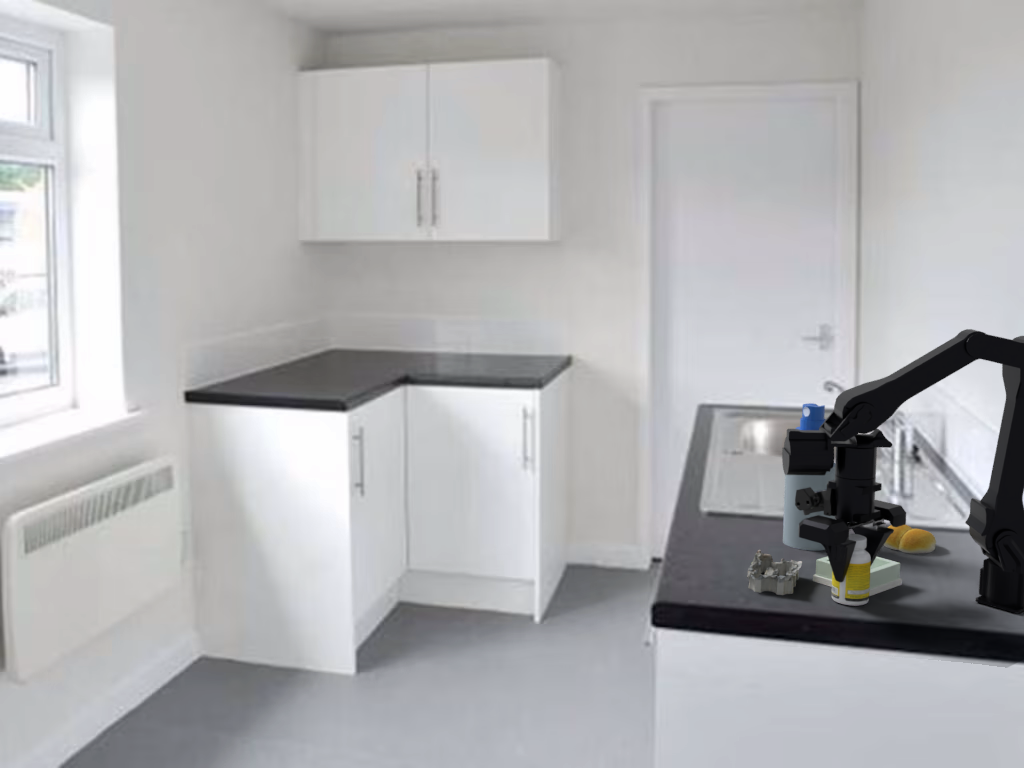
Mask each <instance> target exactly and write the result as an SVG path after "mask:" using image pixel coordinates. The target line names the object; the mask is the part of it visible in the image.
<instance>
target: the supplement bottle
mask: <svg viewBox="0 0 1024 768" xmlns="http://www.w3.org/2000/svg"><path fill="white" fill-rule="evenodd" d="M849 540H853V541H856V545H855V548H854V551H853V554H852V557H851V561H850V564H849V567H848V570H847V573H846V576H845V578H844V581H843V582H838V581H836V580H835V577H834V574H833V571H832V587H831V599H832V600H833V601H834V602H835V603H839V604H840V605H841V604H842V605H846V606H853V607H854V606H855V607H856V606H859V607H860V606H863V605H866V604H867V603H869V601H870V596H869V592H870V568H871V557H870V554H869V553H868V552H867V551H865V548H866V546H867V538H866V537H865V536H862V535H858V534H855V533H849Z"/></svg>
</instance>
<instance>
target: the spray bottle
mask: <svg viewBox="0 0 1024 768" xmlns="http://www.w3.org/2000/svg"><path fill="white" fill-rule="evenodd" d="M825 409H826V405H818V404H816V403H814V402H813V403H811V402H810V403H809V402H808V403H803V404H802V413H801V415H802V417H800V419H799V426H796V427H795V428H794V429H799V430H819V428H820V426H821V425H822V424H823V423H824V421H825V420H826V419H827V418H825V416H826V415H825V413H826V411H825ZM831 480H835V462H834V465H833V468H832V469H831V470H830V472H826V474H825V475H785V474H784V495H783V496H784V497H783V525H782V529H783V530H782V543H783V544H784V545H785V546H787V547H790V548H794V549H797V550H803V551H825V548H824V547H823V545H822V544H821V543H817V542H814V541H810V540H807V539H803V538H800V537H799V536H798V532H799V523H800V522H801V521H802V520H804V519H806V518H810V517H813V516H817V515H820V516H824V517H828V518H832V519H835V516H827V515H824V511H820V512H814V513H810V514H809V515H804V512H803V510H801V511H800V510H798V509H797V507H796V506H795V496H796V490H799V489H803V488H808V487H811V488H812V490H813V491H814V492H815V491H820V490H825V489H827V483H828V482H829V481H831Z"/></svg>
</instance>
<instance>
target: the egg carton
mask: <svg viewBox="0 0 1024 768" xmlns="http://www.w3.org/2000/svg"><path fill="white" fill-rule="evenodd" d="M802 564H803V561H801V560H799V561H797V560H794V559H791V560H790V561H789V560H785V558H781V559H780V562H779V561H778V562H777V561H775V562H774V559H773V556H772V555H771V554H768V553H763V552H762V549H758V550H757V551H756V553H755V554H754V557H753V560H752V562H751V563H750V565H749V567H748V568H747V574H746V575H747V576H746V577H747V579H748V582H749V583H748V588H747V589H749V590H752V591H753V592H754V593H760V594H761V593H763V592H772V593H775V594H776V595H778V596H785V595H792V594H794V588H796V584H797V581H799V577H800V576H799V575H800V573H799V572H800V571H799V570H800V569H801V568H802ZM763 573H764V574H763Z"/></svg>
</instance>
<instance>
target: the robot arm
mask: <svg viewBox="0 0 1024 768" xmlns="http://www.w3.org/2000/svg"><path fill="white" fill-rule="evenodd" d="M977 360H983V361H986V362H987V361H988V362H991V363H997V364H1000V365H1001V366H1002V367H1001V369H1002V370H1001V373H1002V374H1001V375H1002V376H1001V377H1002V381H1003V386H1004V390H1005V401H1004V406H1003V412H1002V416H1001V422H1000V427H999V432H998V438H997V441H996V442H997V444H996V447H995V453H994V458H993V464H992V468H991V473H990V480H989V484H988V488H987V491H986V492H985V494H984V495H983V496H982V498H981V499H976V498H970V502H969V505H970V507H969V508H970V509H969V514H968V517H967V519H966V520H965V524H966V525H967V526H968V527H969V529H968V530H969V531H968V532H969V535H970V538H971V539H972V540H973V541H974V543H976V544H977V545H978V546H979V547H980V549H981V553H982V555H984V556H986V557H987V558H985V559H983V562H982V563H983V565H982V567H980V569H979V581H978V583H979V584H978V594H979V596H977V597H975V599H974V600H975V602H977V603H980V604H983V605H986V606H990V607H994V608H997V609H1000V610H1004V611H1007V612H1011V613H1014V614H1021V613H1022V612H1024V501H1023V499H1024V498H1023V496H1024V335H1019V336H1017V337H1014V338H1012V339H1009V338H1005V337H1002V336H996V335H992V334H988V333H986V332H983V331H980V330H976V329H972V328H970V329H968V328H967V329H964V330H961V331H959V333H957V335H956V336H954V337H952V338H951V339H949V340H948V341H945V342H944V343H942V344H940V345H939V346H937V347H935V348H933V349H932V350H930V351H928V352H927V353H925V354H924V355H922V356H920V357H919V358H917V359H915V360H913V361H911V362H910V363H908V364H906V365H905V366H903V367H901V368H899V369H898V370H896V371H894V372H893V373H891V374H889V375H887V376H884V377H881V378H880V379H876V380H872V381H867V382H864V383H861V384H859V385H857V386H856V385H855V386H854V387H850V388H848V389H845V390H843V391H841V393H840V394H839V395H838V396H837V397H836V399H835V402H834V405H833V406H834V407H833V408H834V409H833V410H832V411H831V413H830V414H829V416H828V417H826V418H825V419H826V420H825V421H824V423H823V424H822V425H821V426H820V428H819V430H799V429H795V428H786V436H785V439H784V444H783V447H782V449H781V451H782V452H781V454H782V455H781V459H782V469H783V474H784V476H785V475H825V474H826V472H830V470H831V469H832V468H833V465H834V463H835V480H831V481H829V482H828V483H827V489H825V490H820V491H815V492H814V491H813V490H812V488H811V487H808V488H803V489H799V490H796V496H795V506H796V507H797V509H798V510H800V511H801V510H803V512H804V515H809V514H810V513H814V512H820V511H824V515H827V516H835V519H832V518H828V517H824V516H820V515H817V516H813V517H810V518H806V519H804V520H802V521H801V522H800V523H799V532H798V536H799V537H800V538H803V539H807V540H810V541H814V542H817V543H821V544H822V545H823V547H824V548H825V550H824V551H825V553H826V555H827V556H828V558H829V561H830V565H831V568H832V571H833V574H834V577H835V580H836V581H838V582H843V581H844V578H845V576H846V573H847V570H848V567H849V564H850V561H851V557H852V554H853V551H854V548H855V545H856V541H853V540H849V534H850V532H851V530H852V531H853V534H858V535H862V536H865V537H866V538H867V546H866V548H865V551H867V552H868V553H869V554H870V557H871V565H872V563H873V562H874V560H875V558H876V556H877V557H878V554H879V553H880V551H881V550H882V548H883V547H884V543H885V542H886V540H887V539H888V537H889V536H890V534H892V533H893V532H894V530H893V529H891V528H888V526H887V525H886V522H885V521H888V522H889V524H890V525H892V526H893V527H899V526H902V525H907V512H906V510H905V509H904V507H903V506H902V505H900V504H896V503H892V502H888V501H887V502H886V501H882V500H880V499H879V500H878V499H876V498H875V497H876V492H879V491H882V487H883V486H882V483H880V482H876V481H877V480H876V479H877V478H876V477H877V456H878V448H893V443H892V442H891V441H889V439H888V438H887V437H886V436H885V435H884V433H883V431H882V430H881V429H880V428H879V427H881V425H883V424H885V422H887V420H889V419H890V418H891V417H893V415H894V414H895V413H896V412H897V410H898V409H899V408H900V407H901V406H902V405H903V404H904V403H906V402H907V401H908V400H909V399H911V398H913V397H914V396H917V395H919V393H922V392H923V391H925V390H927V389H928V388H930V387H932V386H934V385H935V384H937V383H939V382H941V381H942V380H944V379H946V378H948V377H949V376H951V375H953V374H955V373H956V372H958V371H960V370H961V369H963V368H965V367H966V366H969V365H970V364H972V363H973V362H975V361H977Z"/></svg>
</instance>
